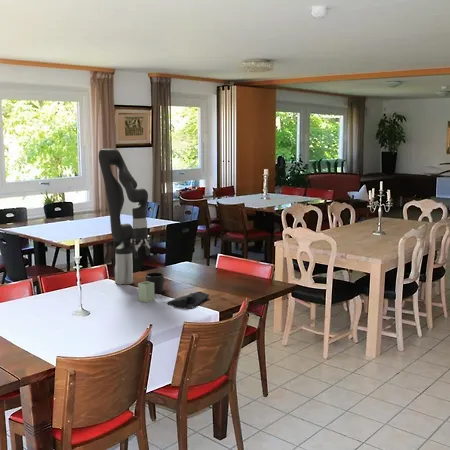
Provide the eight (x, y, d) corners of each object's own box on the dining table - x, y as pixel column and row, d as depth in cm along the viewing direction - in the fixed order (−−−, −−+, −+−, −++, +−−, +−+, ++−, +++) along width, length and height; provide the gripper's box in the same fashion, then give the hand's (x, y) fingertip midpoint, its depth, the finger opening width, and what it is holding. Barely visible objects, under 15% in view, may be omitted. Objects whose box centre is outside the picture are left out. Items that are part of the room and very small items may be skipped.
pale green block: (138, 300, 279) (138, 283, 277) (146, 298, 283) (146, 281, 282) (146, 302, 275) (146, 285, 274) (154, 300, 280) (154, 282, 278)
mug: (170, 289, 299) (170, 273, 298) (154, 294, 290) (154, 277, 288) (158, 286, 305) (157, 270, 303) (142, 291, 295) (141, 275, 294)
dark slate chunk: (214, 299, 283) (214, 290, 282) (189, 311, 265) (189, 301, 264) (189, 295, 291) (189, 286, 290) (163, 305, 272) (163, 296, 272)
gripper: (144, 224, 303) (146, 254, 305) (125, 228, 292) (127, 258, 294) (154, 225, 298) (156, 255, 300) (135, 228, 287) (137, 259, 289)
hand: (142, 256), depth 297 cm, fingers open, 8 cm apart
